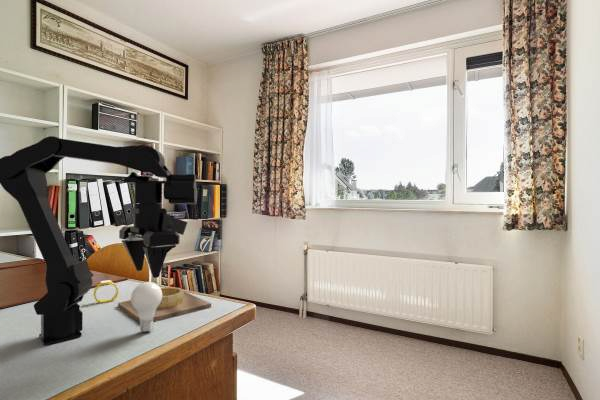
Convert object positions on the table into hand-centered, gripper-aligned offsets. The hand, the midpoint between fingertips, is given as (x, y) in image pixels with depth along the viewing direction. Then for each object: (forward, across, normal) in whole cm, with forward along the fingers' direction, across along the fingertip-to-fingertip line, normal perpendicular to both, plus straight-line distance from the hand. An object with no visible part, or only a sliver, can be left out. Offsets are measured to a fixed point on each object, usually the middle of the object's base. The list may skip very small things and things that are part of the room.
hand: (147, 273), depth 73 cm
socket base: (+13, +14, -10) cm, 21 cm away
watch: (+13, +30, 0) cm, 33 cm away
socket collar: (+13, +14, -10) cm, 21 cm away
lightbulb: (+13, 0, 0) cm, 13 cm away
